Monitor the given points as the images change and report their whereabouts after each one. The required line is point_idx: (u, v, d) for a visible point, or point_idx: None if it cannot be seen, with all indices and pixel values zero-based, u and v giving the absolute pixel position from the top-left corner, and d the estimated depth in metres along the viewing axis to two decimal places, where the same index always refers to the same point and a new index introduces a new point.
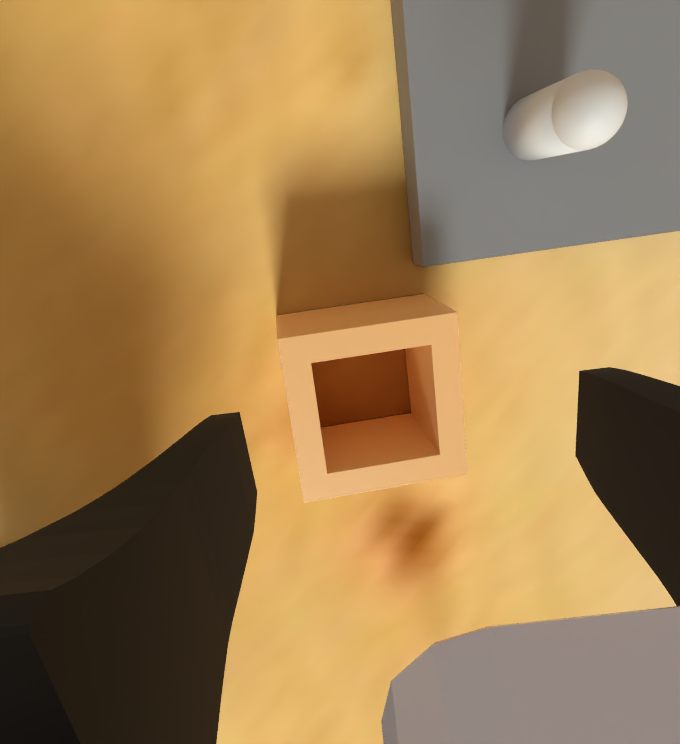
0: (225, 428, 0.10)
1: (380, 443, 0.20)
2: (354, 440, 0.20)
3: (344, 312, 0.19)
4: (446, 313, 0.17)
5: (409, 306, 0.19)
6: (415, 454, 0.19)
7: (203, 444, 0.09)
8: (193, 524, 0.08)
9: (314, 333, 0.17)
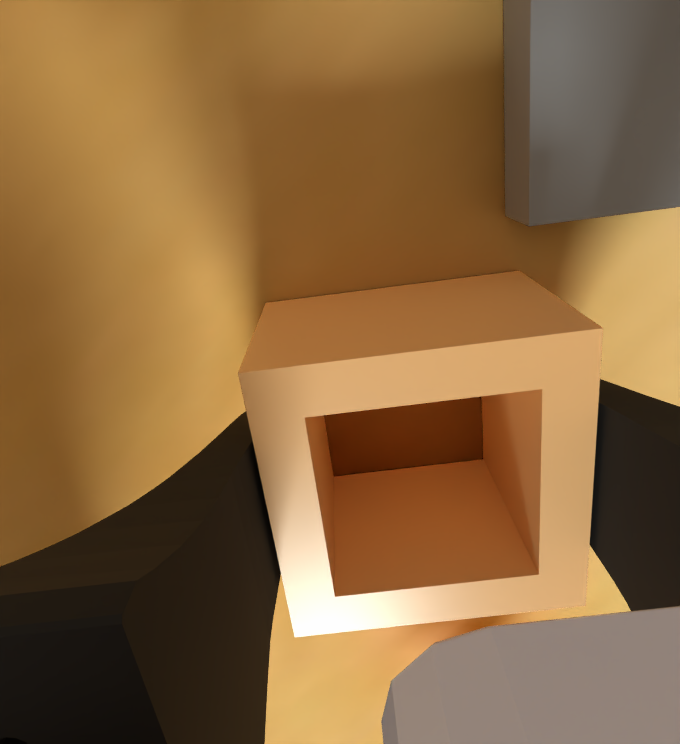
0: None
1: (431, 527, 0.12)
2: (388, 513, 0.12)
3: (378, 306, 0.11)
4: (579, 329, 0.08)
5: (497, 301, 0.10)
6: (493, 567, 0.10)
7: (245, 439, 0.09)
8: (240, 519, 0.08)
9: (311, 363, 0.09)
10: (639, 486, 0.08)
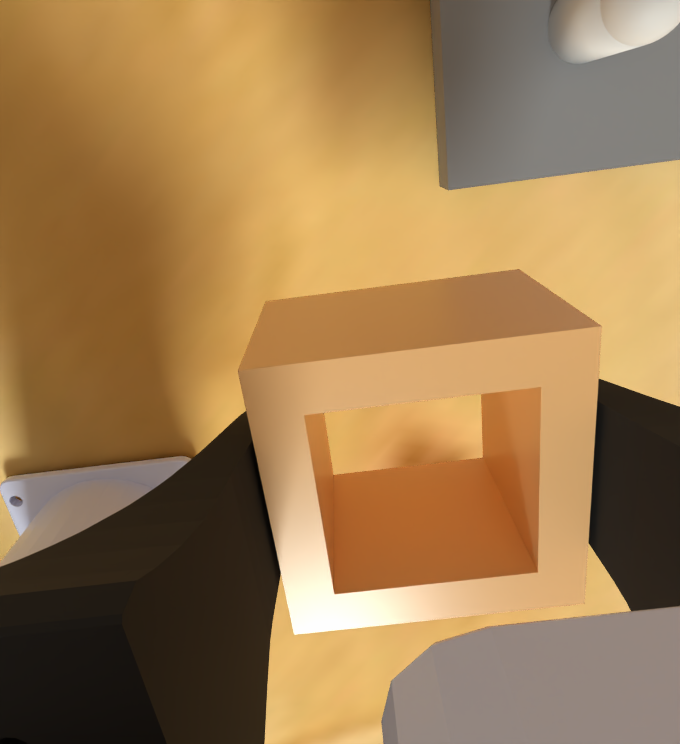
0: None
1: (431, 525, 0.12)
2: (388, 511, 0.12)
3: (377, 304, 0.11)
4: (578, 327, 0.08)
5: (497, 299, 0.10)
6: (492, 565, 0.11)
7: (245, 439, 0.09)
8: (241, 519, 0.08)
9: (310, 360, 0.09)
10: (639, 486, 0.08)
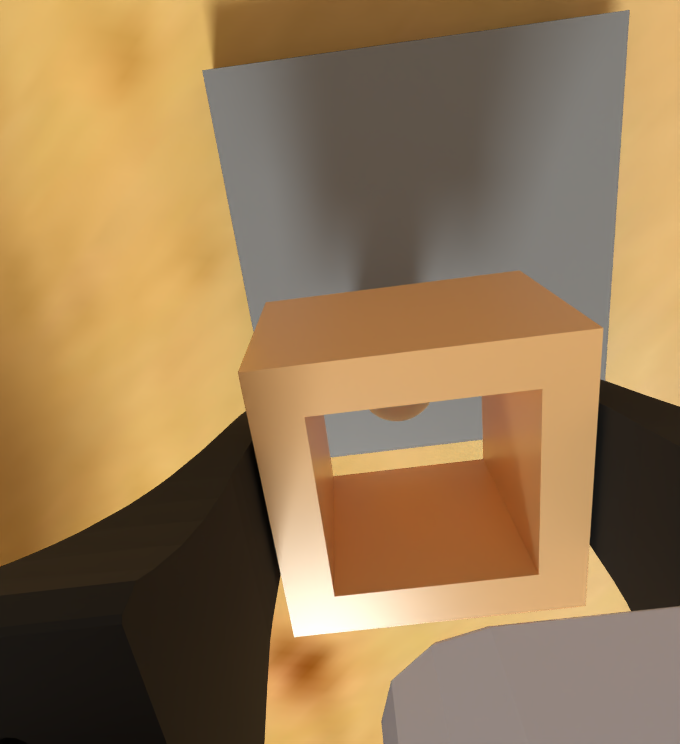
0: None
1: (431, 527, 0.12)
2: (388, 513, 0.12)
3: (378, 306, 0.11)
4: (579, 329, 0.08)
5: (497, 300, 0.10)
6: (493, 568, 0.10)
7: (245, 439, 0.09)
8: (240, 518, 0.08)
9: (310, 362, 0.09)
10: (639, 486, 0.08)
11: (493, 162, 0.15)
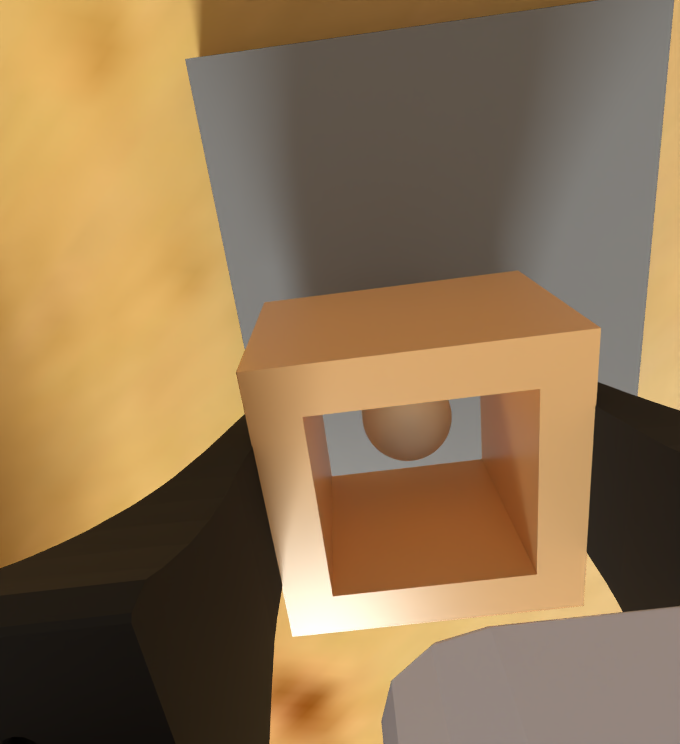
0: None
1: (429, 527, 0.12)
2: (386, 512, 0.12)
3: (376, 306, 0.11)
4: (577, 329, 0.08)
5: (496, 300, 0.10)
6: (491, 568, 0.10)
7: (249, 439, 0.09)
8: (245, 518, 0.08)
9: (308, 362, 0.09)
10: (630, 487, 0.08)
11: (516, 164, 0.14)
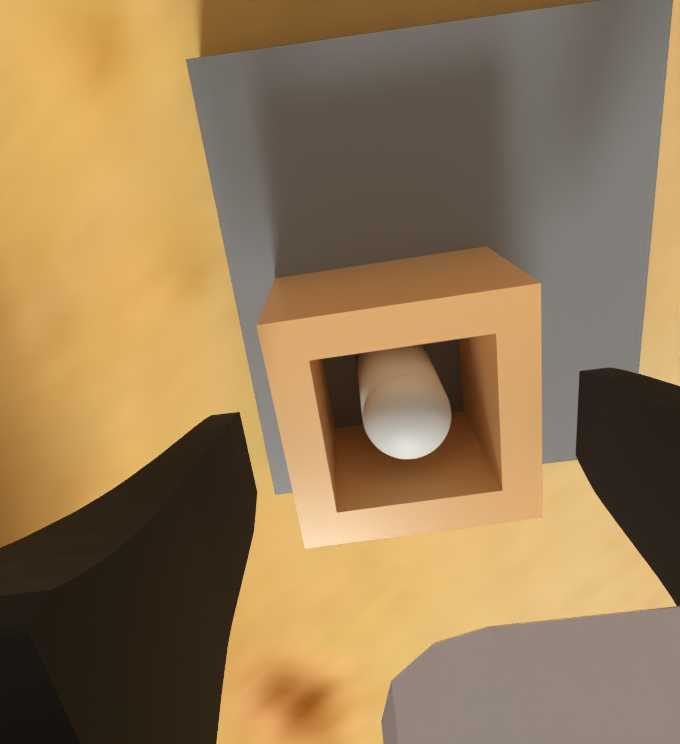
0: (225, 428, 0.10)
1: (417, 462, 0.14)
2: (381, 453, 0.15)
3: (367, 276, 0.13)
4: (522, 284, 0.11)
5: (464, 268, 0.13)
6: (466, 487, 0.13)
7: (203, 444, 0.09)
8: (193, 524, 0.08)
9: (313, 316, 0.11)
10: None
11: (515, 163, 0.14)
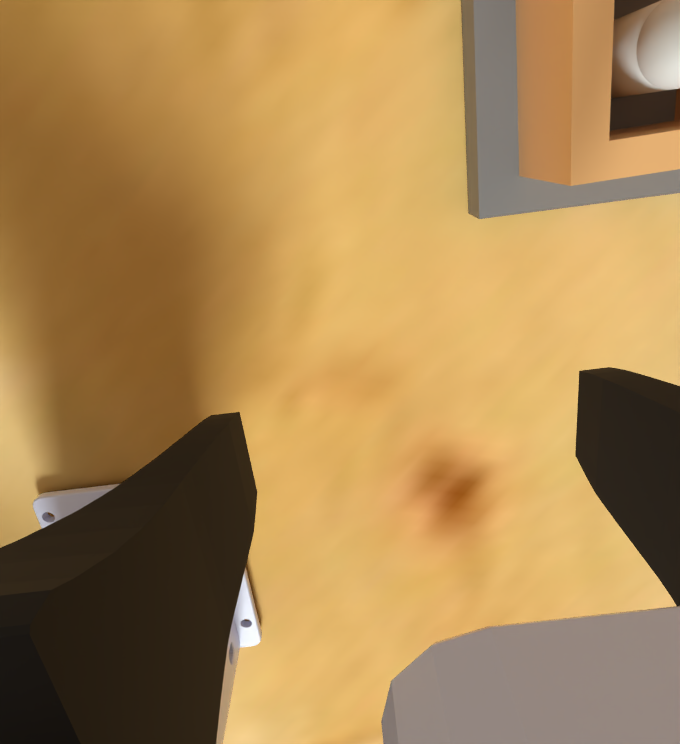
0: (225, 428, 0.10)
1: (660, 128, 0.15)
2: (615, 133, 0.15)
3: None
4: None
5: None
6: None
7: (203, 444, 0.09)
8: (193, 524, 0.08)
9: None
10: None
11: None
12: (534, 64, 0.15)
